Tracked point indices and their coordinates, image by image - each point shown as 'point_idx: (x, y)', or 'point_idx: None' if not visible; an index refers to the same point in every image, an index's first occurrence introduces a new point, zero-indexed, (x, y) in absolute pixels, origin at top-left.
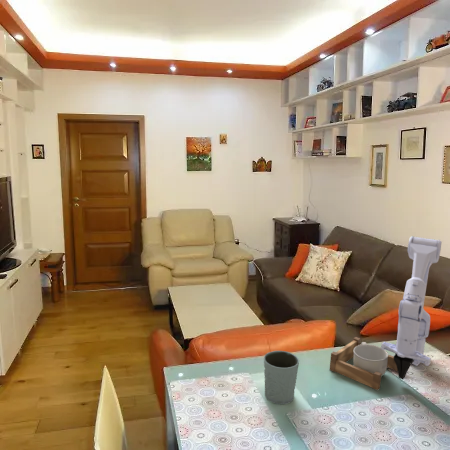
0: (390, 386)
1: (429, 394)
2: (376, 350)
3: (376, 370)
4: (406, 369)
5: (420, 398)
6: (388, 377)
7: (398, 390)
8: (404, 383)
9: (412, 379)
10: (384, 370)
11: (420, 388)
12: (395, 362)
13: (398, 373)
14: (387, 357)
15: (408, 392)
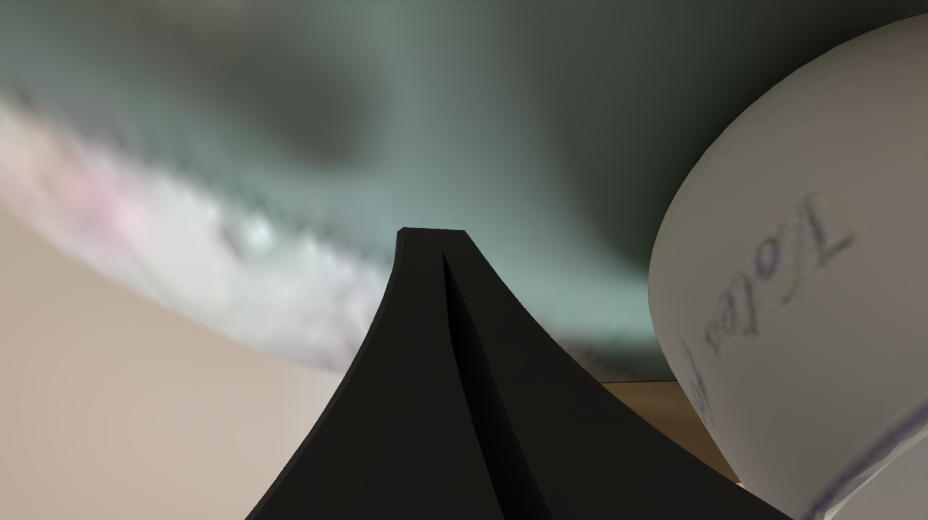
0: (528, 62)
1: (38, 218)
2: (866, 507)
3: (910, 98)
4: (340, 384)
5: (24, 13)
6: (575, 249)
7: (401, 25)
8: (393, 250)
9: (353, 358)
10: (709, 234)
11: (205, 269)
12: (671, 443)
13: (491, 269)
14: (842, 484)
15: (262, 73)
